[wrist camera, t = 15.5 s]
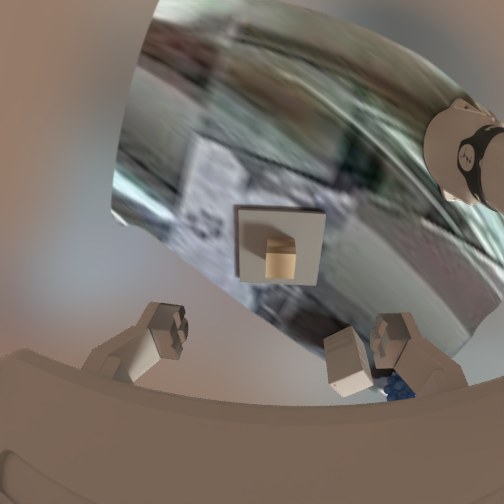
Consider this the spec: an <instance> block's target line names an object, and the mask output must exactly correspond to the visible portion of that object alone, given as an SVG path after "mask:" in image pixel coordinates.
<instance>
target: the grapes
mask: <svg viewBox="0 0 504 504" xmlns="http://www.w3.org/2000/svg"><path fill="white" fill-rule="evenodd" d="M395 375H396V376H393V375H392V376H390V377H388V379H387V383H388V384H389V385H386V386H385V387H384V392H385V393H386V394H388V395H387V401H396V400H403V399H410V398H415V397H416V396H415V395H416V394H415V393H414V391H413V390H412V389H411V388H410V387H409V386H408V385H407V383H406V382H405V381H404V380H403V379H402V378H401V377H400V375H399V374H398V373H397V372H396V374H395Z"/></svg>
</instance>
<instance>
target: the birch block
mask: <svg viewBox="0 0 504 504" xmlns="http://www.w3.org/2000/svg"><path fill="white" fill-rule="evenodd" d="M295 262H296V246H295V239H281V238H268V240H267V251H266V274H265V278H283V279H294V272H295Z"/></svg>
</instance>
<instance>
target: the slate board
mask: <svg viewBox="0 0 504 504" xmlns="http://www.w3.org/2000/svg"><path fill="white" fill-rule="evenodd" d="M325 218H326V213H325V212H317V211H300V210H281V209H257V208H239V210H238V219H239V267H240V282H250V283H269V284H291V285H316V282H317V276H318V269H319V263H320V256H321V249H322V242H323V234H324V226H325ZM268 238H281V239H295V246H296V262H295V272H294V279H283V278H265V274H266V251H267V240H268Z"/></svg>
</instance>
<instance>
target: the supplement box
mask: <svg viewBox="0 0 504 504" xmlns="http://www.w3.org/2000/svg"><path fill="white" fill-rule="evenodd" d="M323 341H324V349H325V356H326V364H327V373H328V381H329V385H331V386H332V387H333V388H334V389H335V390H336V391H337V392H338V393H339V394H340V395H341V396H342V397H346V396H348V395H351V394H353V393H355V392H358V391H360V390H363V389H365V388H368V387H370V386H373V380H372V376H371V372H370V368H369V364H368V360H367V356H366V352H365V347H364V344H363V342H362V340H361V339H360V337H359V336H358V334H357V333H356V332H355V330H354V329H353V327H352V326H349V327H347V328H345V329H343V330H341V331H339V332H337V333H335V334H333V335H331V336H328V337H326V338H324V339H323Z"/></svg>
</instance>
